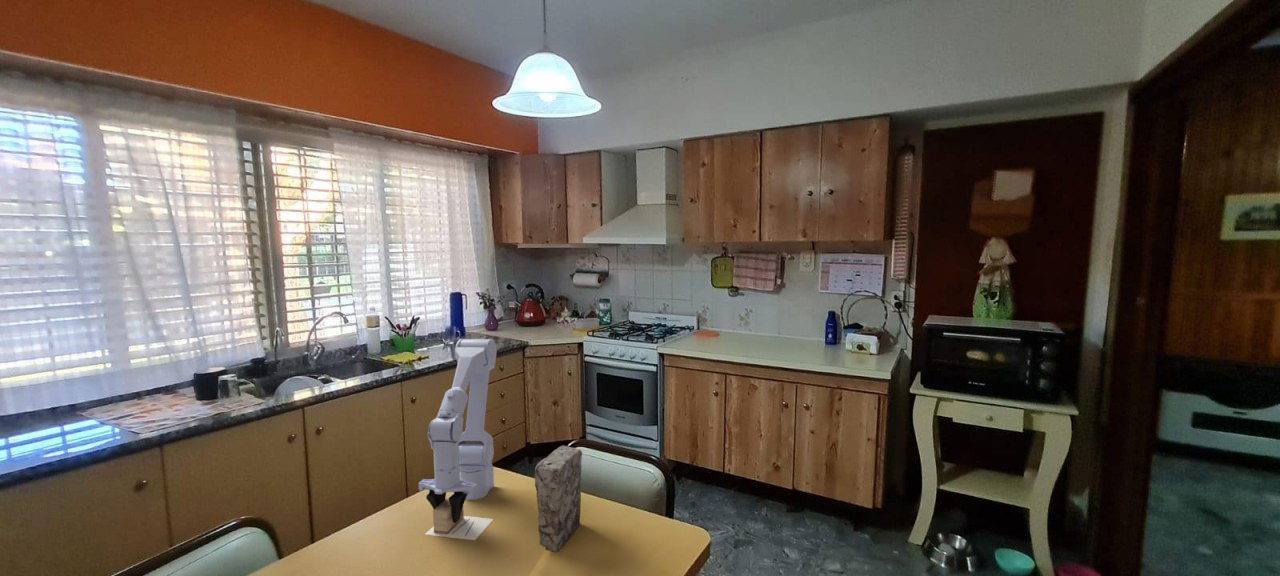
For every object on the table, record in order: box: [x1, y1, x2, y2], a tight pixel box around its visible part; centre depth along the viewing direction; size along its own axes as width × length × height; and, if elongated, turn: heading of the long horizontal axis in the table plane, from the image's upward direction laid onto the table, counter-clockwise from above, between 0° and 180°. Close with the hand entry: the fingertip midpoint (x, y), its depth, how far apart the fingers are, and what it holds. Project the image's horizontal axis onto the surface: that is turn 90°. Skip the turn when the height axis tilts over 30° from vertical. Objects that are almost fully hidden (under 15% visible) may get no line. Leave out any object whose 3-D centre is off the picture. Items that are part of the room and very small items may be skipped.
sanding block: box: [432, 495, 465, 534], centre depth 117 cm, size 7×4×6 cm, turn 169°
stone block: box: [534, 445, 583, 553], centre depth 114 cm, size 13×7×20 cm, turn 167°
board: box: [424, 515, 494, 541], centre depth 117 cm, size 9×13×1 cm
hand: (449, 519), depth 117 cm, fingers closed on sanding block, 4 cm apart
